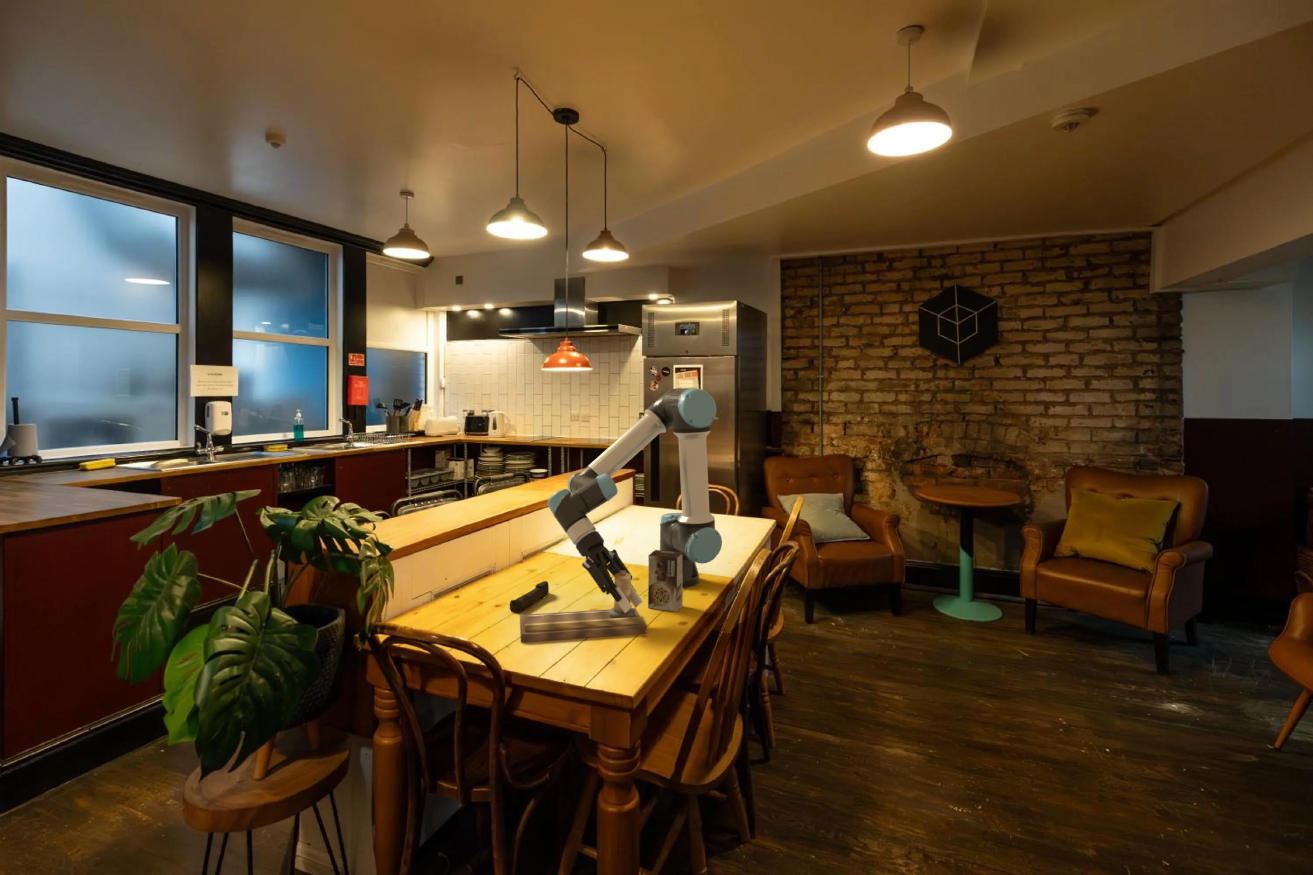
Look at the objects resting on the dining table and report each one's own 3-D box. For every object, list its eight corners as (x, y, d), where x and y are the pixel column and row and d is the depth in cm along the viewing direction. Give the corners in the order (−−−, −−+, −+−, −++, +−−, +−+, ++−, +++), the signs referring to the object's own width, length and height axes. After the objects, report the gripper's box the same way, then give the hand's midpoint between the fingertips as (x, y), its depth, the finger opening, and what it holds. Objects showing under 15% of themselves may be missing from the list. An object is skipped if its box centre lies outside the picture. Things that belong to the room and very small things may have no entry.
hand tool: (520, 614, 174) (521, 598, 174) (508, 612, 176) (509, 596, 175) (555, 595, 192) (556, 580, 192) (544, 593, 193) (545, 578, 193)
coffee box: (683, 605, 184) (684, 552, 183) (676, 612, 178) (678, 557, 177) (654, 601, 187) (655, 548, 186) (646, 608, 181) (648, 554, 180)
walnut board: (635, 614, 175) (635, 602, 175) (645, 633, 162) (646, 620, 162) (519, 621, 168) (519, 609, 168) (520, 642, 154) (520, 628, 154)
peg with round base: (632, 609, 173) (633, 567, 172) (637, 618, 166) (638, 574, 165) (607, 610, 171) (608, 568, 170) (611, 619, 164) (612, 575, 163)
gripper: (597, 540, 183) (643, 605, 175) (558, 552, 168) (606, 624, 160) (611, 524, 179) (659, 590, 172) (573, 535, 165) (623, 608, 157)
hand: (633, 606), depth 166 cm, fingers closed on peg with round base, 4 cm apart
